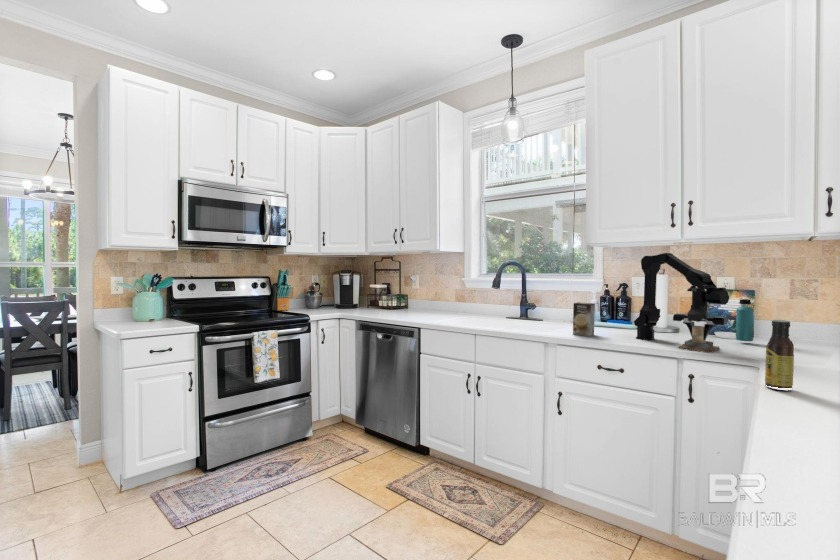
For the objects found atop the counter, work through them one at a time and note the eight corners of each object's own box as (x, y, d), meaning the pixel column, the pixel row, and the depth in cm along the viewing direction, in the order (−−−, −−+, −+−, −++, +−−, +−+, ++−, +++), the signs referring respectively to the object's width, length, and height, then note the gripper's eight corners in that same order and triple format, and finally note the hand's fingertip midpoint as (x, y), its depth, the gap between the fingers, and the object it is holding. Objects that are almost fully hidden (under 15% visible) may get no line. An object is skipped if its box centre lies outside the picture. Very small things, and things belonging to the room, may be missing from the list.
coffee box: (572, 334, 223) (572, 303, 222) (576, 332, 228) (577, 302, 227) (590, 336, 217) (590, 304, 216) (594, 334, 222) (595, 303, 221)
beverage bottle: (756, 345, 193) (757, 299, 193) (739, 344, 195) (740, 299, 194) (748, 342, 200) (749, 298, 199) (732, 341, 201) (733, 298, 200)
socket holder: (678, 348, 186) (678, 341, 185) (687, 344, 194) (687, 338, 193) (711, 352, 177) (711, 345, 177) (719, 348, 185) (719, 341, 185)
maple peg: (691, 345, 185) (692, 326, 185) (694, 344, 188) (695, 325, 188) (702, 346, 182) (703, 327, 182) (705, 345, 185) (706, 326, 185)
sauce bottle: (765, 384, 130) (766, 318, 129) (792, 388, 126) (794, 320, 125) (764, 389, 125) (766, 320, 124) (793, 393, 121) (795, 322, 120)
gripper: (668, 302, 186) (667, 338, 186) (720, 305, 172) (719, 344, 173) (677, 300, 193) (676, 335, 194) (728, 303, 180) (727, 341, 180)
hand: (698, 339), depth 185 cm, fingers closed on maple peg, 4 cm apart
